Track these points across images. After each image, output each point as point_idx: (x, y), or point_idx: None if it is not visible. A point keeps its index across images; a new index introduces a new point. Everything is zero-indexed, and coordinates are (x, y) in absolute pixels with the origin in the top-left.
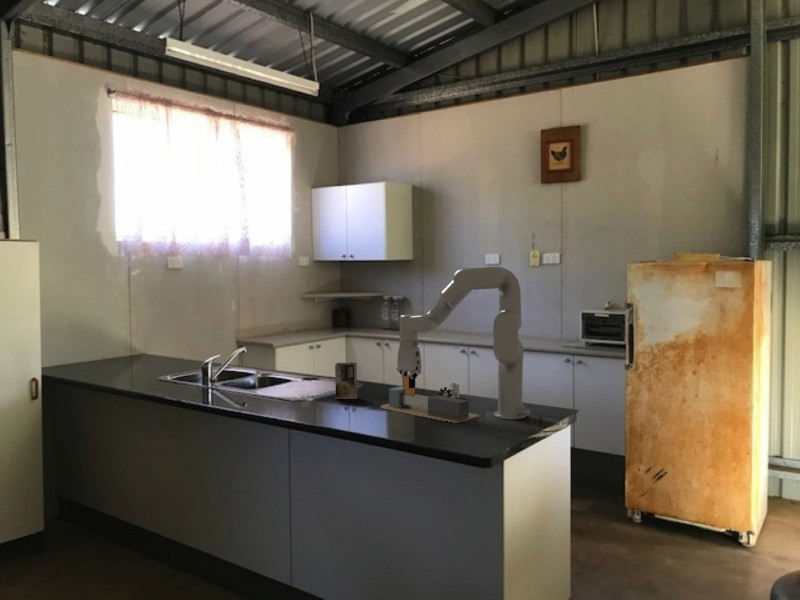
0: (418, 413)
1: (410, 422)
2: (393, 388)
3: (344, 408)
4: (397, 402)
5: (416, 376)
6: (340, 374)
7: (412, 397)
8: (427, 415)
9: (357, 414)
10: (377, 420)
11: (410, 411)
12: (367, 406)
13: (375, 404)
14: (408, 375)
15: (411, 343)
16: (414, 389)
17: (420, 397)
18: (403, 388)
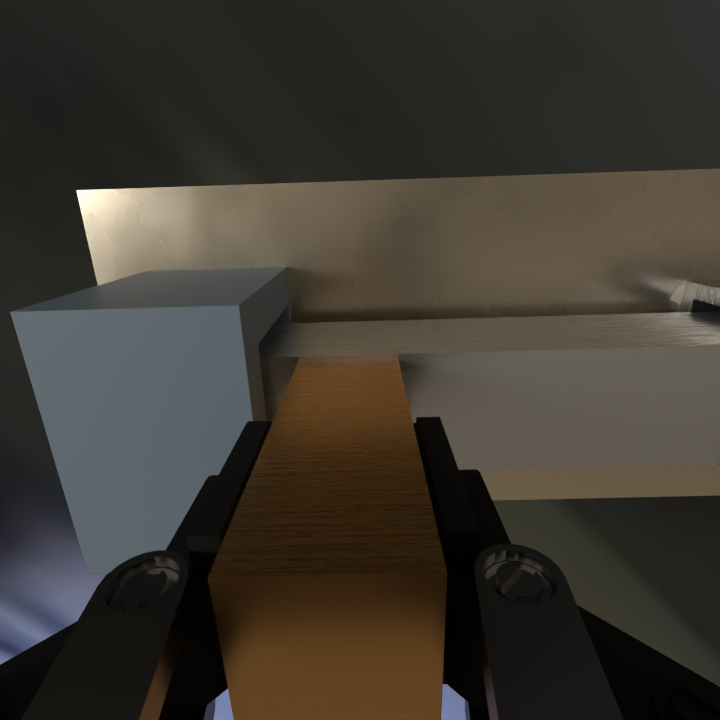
0: (605, 496)
1: (655, 634)
2: (108, 524)
3: (6, 656)
4: None
5: (617, 646)
6: None
7: (465, 461)
8: (709, 494)
9: (223, 698)
10: (442, 713)
11: (507, 495)
12: (41, 525)
13: (7, 437)
14: (299, 665)
15: None
16: (404, 388)
17: (591, 448)
18: (206, 435)
